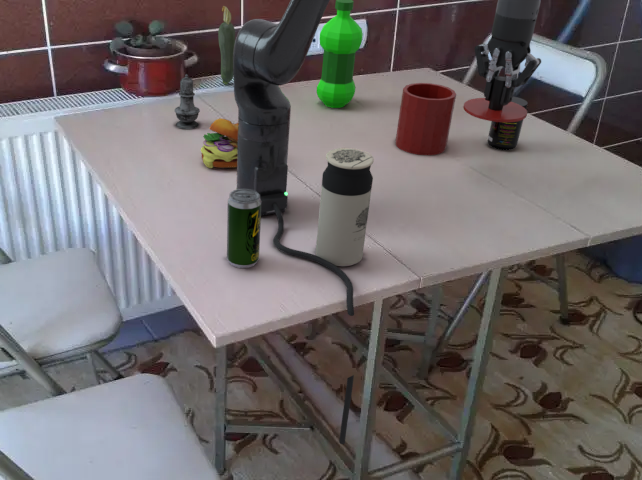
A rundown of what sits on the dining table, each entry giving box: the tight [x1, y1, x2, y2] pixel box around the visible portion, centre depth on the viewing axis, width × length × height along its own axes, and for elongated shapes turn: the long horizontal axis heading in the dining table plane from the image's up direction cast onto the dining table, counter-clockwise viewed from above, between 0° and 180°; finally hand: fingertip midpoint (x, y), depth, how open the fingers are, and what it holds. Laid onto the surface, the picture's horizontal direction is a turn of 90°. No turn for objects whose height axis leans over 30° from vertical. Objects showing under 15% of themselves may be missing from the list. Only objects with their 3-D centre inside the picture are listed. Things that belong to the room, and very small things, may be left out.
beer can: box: [226, 188, 262, 269], centre depth 121 cm, size 5×5×12 cm
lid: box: [463, 75, 528, 122], centre depth 148 cm, size 12×12×7 cm
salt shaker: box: [174, 73, 201, 130], centre depth 171 cm, size 6×6×12 cm
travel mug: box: [315, 147, 375, 267], centre depth 122 cm, size 8×8×18 cm
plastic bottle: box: [316, 0, 364, 109], centre depth 182 cm, size 10×10×25 cm
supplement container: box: [486, 96, 528, 151], centre depth 167 cm, size 7×7×10 cm
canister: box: [395, 82, 457, 156], centre depth 165 cm, size 11×11×12 cm
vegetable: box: [217, 5, 236, 85], centre depth 193 cm, size 4×4×20 cm
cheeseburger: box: [200, 117, 238, 169], centre depth 156 cm, size 10×11×10 cm
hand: (496, 101), depth 149 cm, fingers closed on lid, 3 cm apart
